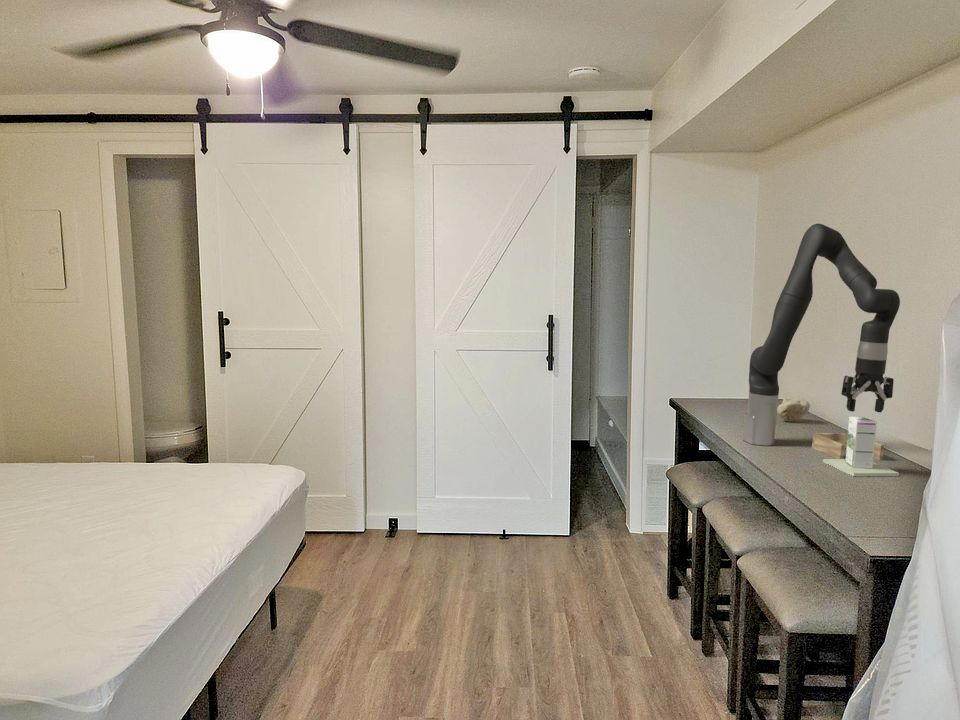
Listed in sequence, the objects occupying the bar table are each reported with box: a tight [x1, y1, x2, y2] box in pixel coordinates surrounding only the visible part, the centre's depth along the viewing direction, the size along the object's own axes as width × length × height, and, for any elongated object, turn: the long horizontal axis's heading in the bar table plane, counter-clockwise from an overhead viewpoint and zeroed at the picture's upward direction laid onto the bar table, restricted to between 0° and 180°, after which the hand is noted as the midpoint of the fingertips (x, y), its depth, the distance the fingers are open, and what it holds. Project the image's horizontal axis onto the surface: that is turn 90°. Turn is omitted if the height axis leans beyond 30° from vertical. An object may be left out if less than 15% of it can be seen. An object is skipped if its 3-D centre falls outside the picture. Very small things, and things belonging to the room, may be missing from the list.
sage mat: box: [822, 458, 900, 478], centre depth 192 cm, size 14×14×1 cm
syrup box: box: [844, 416, 878, 469], centre depth 191 cm, size 6×6×14 cm
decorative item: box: [777, 397, 811, 423], centre depth 252 cm, size 12×9×10 cm
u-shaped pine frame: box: [811, 432, 885, 461], centre depth 208 cm, size 14×14×5 cm
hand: (864, 411), depth 189 cm, fingers open, 8 cm apart
